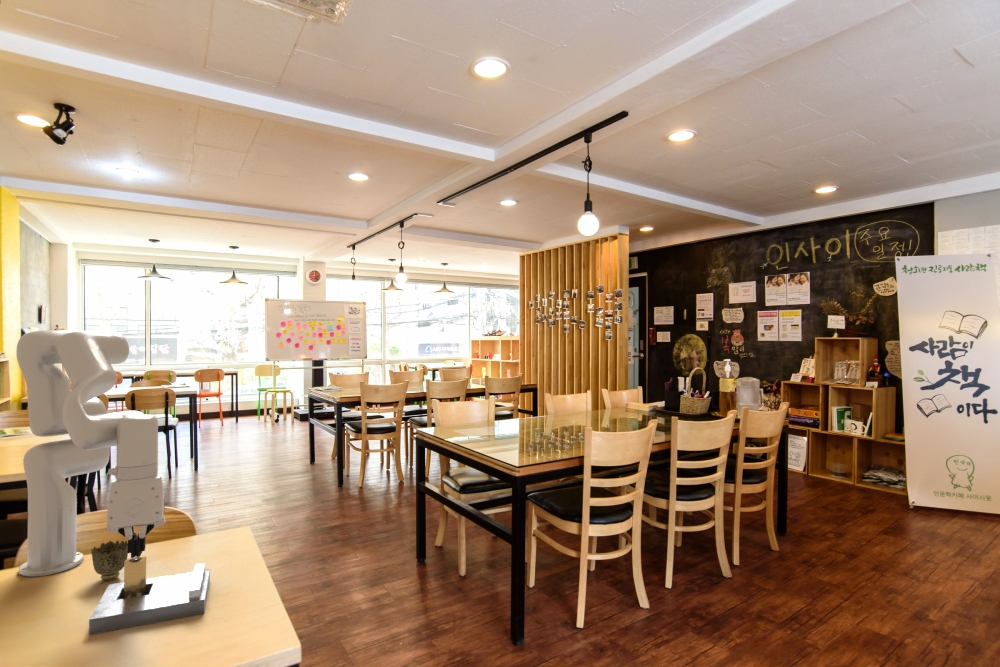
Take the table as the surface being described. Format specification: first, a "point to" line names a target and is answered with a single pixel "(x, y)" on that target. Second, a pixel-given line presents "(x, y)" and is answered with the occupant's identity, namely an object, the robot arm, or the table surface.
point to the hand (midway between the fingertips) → (136, 555)
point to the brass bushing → (135, 577)
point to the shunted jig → (152, 601)
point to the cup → (109, 559)
